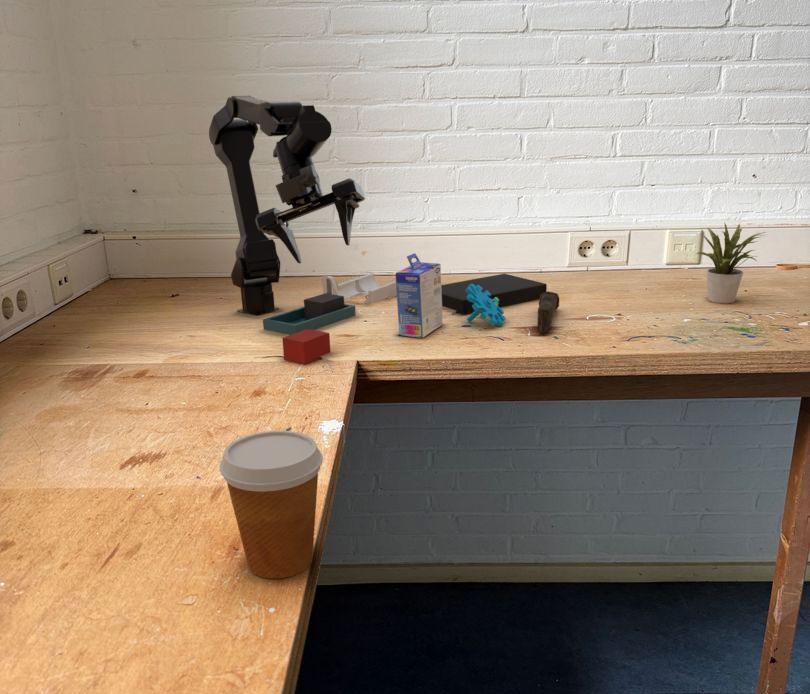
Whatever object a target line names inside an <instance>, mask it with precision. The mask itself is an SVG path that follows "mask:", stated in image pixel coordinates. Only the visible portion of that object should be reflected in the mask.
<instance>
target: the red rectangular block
mask: <svg viewBox="0 0 810 694" xmlns="http://www.w3.org/2000/svg"><path fill="white" fill-rule="evenodd" d="M281 339H282V351H283V360H284V361H288V362H292V363H296V364H300V365H309V364H311V363H314V362H316V361H319V360H320V359H322V356H326V355H328V354H330V353H331V338H330V332H326V331H321V330H318V329H315V330H312V329H306V330H303V331H301V332H298V333H295V334H292V335H286V336H283V337H282V338H281Z"/></svg>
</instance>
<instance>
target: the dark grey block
mask: <svg viewBox="0 0 810 694" xmlns="http://www.w3.org/2000/svg"><path fill="white" fill-rule="evenodd" d="M344 304H345V299H344V296H339V295H333V293H332V294H327V293H325V294H323V293H322V294H319V295H315V296H312V297H309V298H304V299H303V307H304V310H305V319H307V320H309V319H312V318H315V317H318V316H321V315H324V314H327V313H330V312H333V311H336V310H339V309H342V308H344Z"/></svg>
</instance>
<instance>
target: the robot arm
mask: <svg viewBox="0 0 810 694" xmlns="http://www.w3.org/2000/svg"><path fill="white" fill-rule="evenodd" d="M259 130H260V132H262V133H263V134H265V135H266V136H267V137H282V138H280V140H279V141H276V143H275V146H274V149H273V151H272V157H273V158H277V159H278V160H277V161H278V163H279V166H280V169H281V173H282V175H281V181H282V182H280V183H278V184H275V188H276V191H277V193H278V196H279V198H280V201H281V204H286V205H287V206H291V207H290V208H287V209H284V210H282V211H281V210H280V209H278V208H277V207H272V208H270V209H267V210H264V211H262V212H261V211H260V207H259V203H258V197H257V192H256V187H255V182H254V178H253V172H252V168H251V167H252V166H251V163H250V161H251V159H252V156H253V153H254V151H255V139H256V136H257V133H258V131H259ZM332 130H333V129H332V124H331V122H330V121H329V120H328V118H327V117H326V116H325V115H324V114H323V113H321V112H319V111H316V107H315V105H314V104H305V105H304V104H303V103H301V101H299V100H290V101H289V100H288V101H287V100H285V101H268V100H263V99H259V98H256V97H254V96H251V95H232V96H229V97H227V99H226V101H225V105H224V106H223V107H222V108H221V109H219V110H218V111H217V112H216V113H215V114H214V115H213V116H212V119H211V122H210V125H209V129H208V137H209V141H210V143H211V145H212V147H213V151H214V154H215V157H217V158H218V160H220V162H221V163H222V164H223V165H224V166H225V169H226V172H227V178H228V182H229V183H228V184H229V187H230V192H231V197H232V201H233V203H232V204H233V207H234V208H233V209H234V212H235V217H236V222H237V226H238V232H239V241H238V244H237V247H236V249H235V258H236V259H235V261H234V265H233V268H232V271H231V273H230V276H231V281H232V285H234V286H236V287H238V288H240V296H241V306H242V308H241V309H239V310H236V312H237V313H241V314H246V315H250V316H256V317H260V316H262V315H265V314H269V313H272V312H276V311H279V310H280V308H279V307H275V295H274V291H273V284H275V283H276V284H279V282H280V275H281V259H280V257H279V255H278V252H277V247H276V246H277V245H276V242H275V240H274V239H273V238H272V239H270V238H269V237H268V236H272V237H273V236H274V237H276V238H278V239H280V241H281V242H282V243H283V245H284V246H285V248H286V249H287V250H288V251H289V253H290V254H291V256H292V257H293V258H294V260H295V261H296V263H298V264H301V263H302V258H301V253H300V250H299V247H298V244H297V241H296V238H295V235H294V232H293V229H291V228H289V226H290V223H289V222H290V221H293V220H295V219H298V218H301V217H303V216H306V215H308V214H311V213H314V212H317V211H319V210H322V209H325V208H327V207H329V206H332V205H334V207H335V210H336V213H337V215H338V219H339V223H340V229H341V234H342V238H343V241H344V243H345V245H346V246H350V245H351V235H352V228H353V227H352V226H353V220H354V216H355V211H356V209H359V207H360V203H361V202H363V201H365V200H366V197H365V194H364V191H363V188H362V186H361V185H360V184H359V183H358V182H356V180H354V179H353V178H350V177H348V178H346V179H344V180H341V181H338V182H336V183H334V184H332V185H331V191H332V192H329V193H327V194H324V193H323V190H322V186H321V181H320V177H319V174H318V172H317V169H316V166H315V163H314V160H313V157H314V156H316V155H317V154H318V152H319V151H320V150H321V149H322V147H323V146H324V144H325V143H326V142H327V141H328V140H329V138H330V137H331V136H332ZM267 235H268V236H267Z"/></svg>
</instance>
